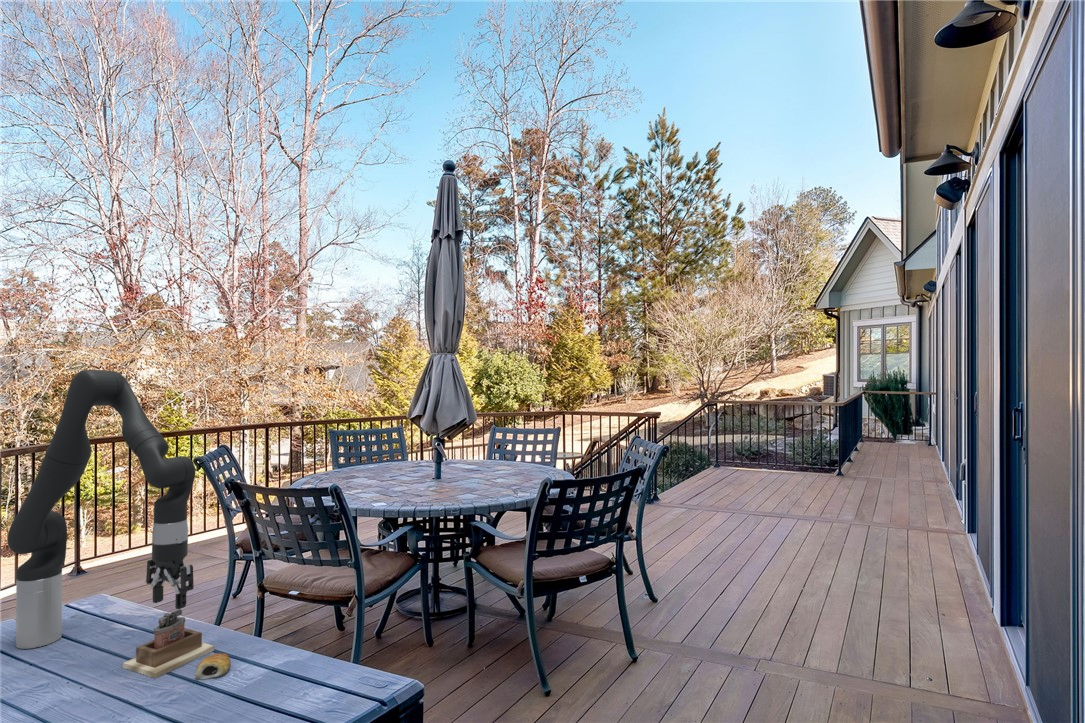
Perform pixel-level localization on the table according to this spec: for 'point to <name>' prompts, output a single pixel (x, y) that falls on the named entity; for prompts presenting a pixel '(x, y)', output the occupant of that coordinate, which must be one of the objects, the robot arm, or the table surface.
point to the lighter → (169, 629)
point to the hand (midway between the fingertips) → (169, 604)
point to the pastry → (213, 666)
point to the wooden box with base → (168, 655)
